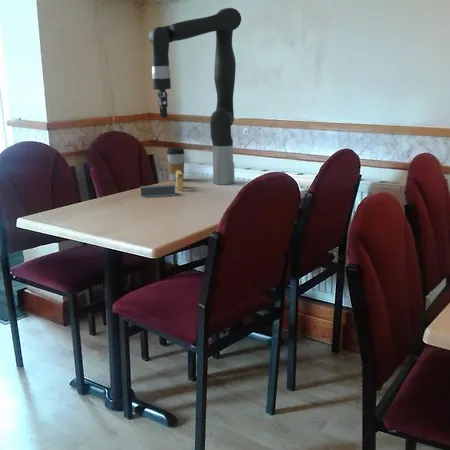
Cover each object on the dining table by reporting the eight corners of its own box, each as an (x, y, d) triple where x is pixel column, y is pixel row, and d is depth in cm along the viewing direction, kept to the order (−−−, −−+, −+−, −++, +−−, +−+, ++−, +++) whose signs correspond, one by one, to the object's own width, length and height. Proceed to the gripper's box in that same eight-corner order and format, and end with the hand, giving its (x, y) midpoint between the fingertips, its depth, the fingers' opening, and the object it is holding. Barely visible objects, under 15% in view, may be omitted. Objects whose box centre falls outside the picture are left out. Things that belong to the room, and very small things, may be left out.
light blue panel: (174, 192, 243) (174, 191, 243) (175, 195, 238) (175, 194, 237) (141, 194, 241) (141, 193, 241) (141, 197, 235) (141, 196, 235)
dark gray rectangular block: (174, 191, 242) (173, 184, 241) (175, 193, 239) (174, 186, 238) (140, 193, 240) (140, 186, 239) (141, 195, 236) (140, 188, 235)
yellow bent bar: (180, 185, 256) (180, 170, 255) (183, 190, 247) (182, 174, 245) (176, 186, 256) (175, 170, 254) (178, 190, 246) (177, 174, 245)
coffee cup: (166, 179, 275) (164, 148, 271) (183, 178, 277) (182, 147, 273) (170, 182, 267) (168, 150, 263) (187, 180, 269) (186, 149, 266)
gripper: (151, 78, 245) (153, 116, 249) (153, 77, 232) (156, 118, 236) (168, 77, 247) (170, 115, 251) (172, 77, 233) (174, 117, 237)
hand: (163, 117), depth 243 cm, fingers open, 8 cm apart
